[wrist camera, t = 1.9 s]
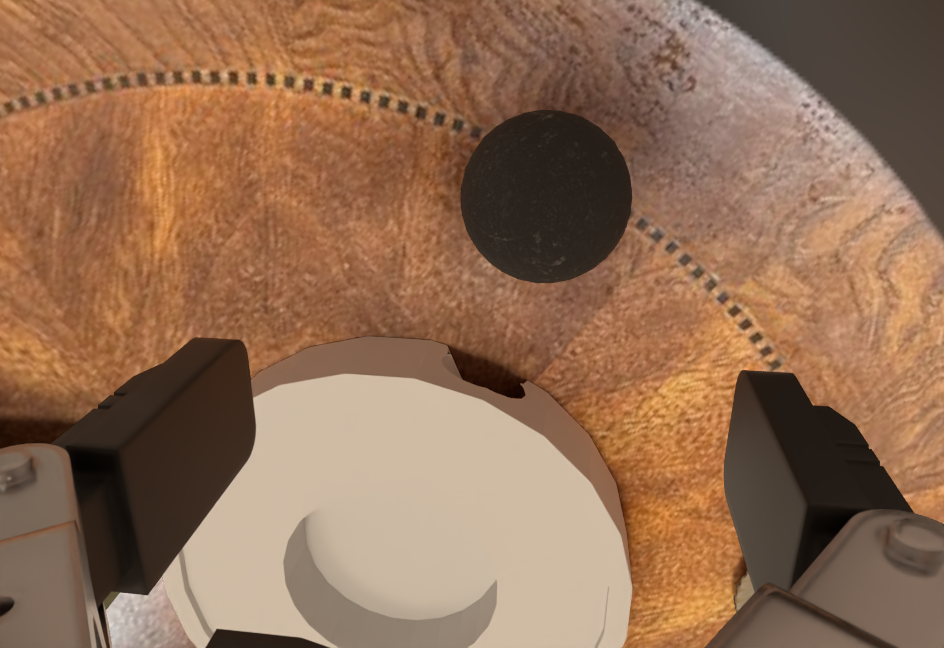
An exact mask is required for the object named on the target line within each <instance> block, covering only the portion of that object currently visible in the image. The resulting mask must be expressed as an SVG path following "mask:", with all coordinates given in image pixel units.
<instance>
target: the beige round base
mask: <svg viewBox="0 0 944 648" xmlns="http://www.w3.org/2000/svg"><path fill="white" fill-rule="evenodd" d="M521 385H522V387H523V389H524V391H525V394H526V395H525V396H524V397H523V398H522V399H516V398H509V397H506V396H503V395H501V394H498V393H495V392H493V391H491V390H489V389H487V388H484V387H480V386H477V385H474V384H472V383H469V382H467V381H464V380H462V378H461V376H460V374H459V371H458V369H457V367H456V364H455V362H454V360H453V357H452V355H451V353H450V351H449V348H448V346H447V345H445V344H442V343H438V342H435V341H432V340H420V339H405V338H390V337H374V336H366V337H360V338H355V339H350V340H344V341H339V342H334V343H329V344H323V345H318V346H313V347H308V348H306V349H304V350H302V351H300V352H298V353H296V354H294V355H292V356H290V357H288V358H286V359H284V360H282V361H280V362H278V363H276V364H274V365H272V366H270V367H268V368H266V369H264V370H262V371H260V372H259V373H258V374H257V375H256V376H255V377H254V378H253V379H252V380H251V386H252V394H253V403H254V411H255V419H256V437H255V443H254V447H253V451H252V453H251V456H250V458H249V459H248V461H247V462H246V464H245V465H244V466H243V468H242V469H241V470H240V472H239V473H238V474H237V476H236V477H235V478H234V480H233V481H232V482H231V484H230V485H229V487H228V488H227V489H226V491H225V492H224V493H223V495H222V496H221V497H220V499H219V500H218V501H217V503H216V504H215V505H214V507H213V508H212V509H211V511H210V512H209V513H208V515H207V516H206V517H205V519H204V520H203V521H202V523H201V524H200V526H199V527H198V528H197V530H196V531H195V532H194V534H193V535H192V536H191V538H190V539H189V540H188V542H187V543H186V544H185V546H184V547H183V548H182V550H181V551H180V552H179V554H178V555H177V556H176V558H175V559H174V561H173V562H172V563H171V565H170V566H169V567H168V569H167V570H166V571H165V573H164V574H163V575H162V576H163V581H164V587H165V591H166V593H167V595H168V597H169V599H170V601H171V603H172V605H173V607H174V610H175V612H176V614H177V616H178V618H179V620H180V622H181V624H182V626H183V628H184V630H185V632H186V634H187V636H188V637H189V639H190V640H191V641H192V642H193V643H194V645H195V646H196V647H197V648H206V646H207V644H208V642H209V641H210V639H211V637H212V636H213V634H214V632H215V631H216V629H225V630H235V631H244V632H254V633H263V634H272V635H282V636H291V637H300V638H304V639H307V640H310V641H313V642H316V643H318V644H321V645H324V646H327V647H330V648H622V646H623V644H624V642H625V640H626V637H627V629H628V621H629V612H630V604H631V596H632V579H631V570H630V560H629V550H628V540H627V531H626V527H625V522H624V517H623V513H622V508H621V503H620V498H619V494H618V489H617V484H616V482H615V480H614V478H613V476H612V475H611V473H610V471H609V469H608V467H607V466H606V464H605V462H604V460H603V458H602V457H601V455H600V453H599V451H598V450H597V448H596V446H595V444H594V442H593V441H592V439H591V437H590V435H589V434H588V433H587V432H586V431H585V430H584V429H583V428H582V427H581V426H580V425H579V424H578V423H577V422H576V421H575V420H574V419H573V418H572V417H571V416H570V415H569V414H568V413H567V412H566V411H565V410H564V409H563V408H562V407H561V406H560V405H559V404H558V403H557V402H556V401H555V400H554V399H553V398H552V397H551V396H550V395H549V394H548V393H547V392H546V391H544V390H543V389H541V388H539V387H538V386H536V385H534V384H533V383H531V382H529V381H528V380H527V381H526V382H525V383H524V384H521Z"/></svg>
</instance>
